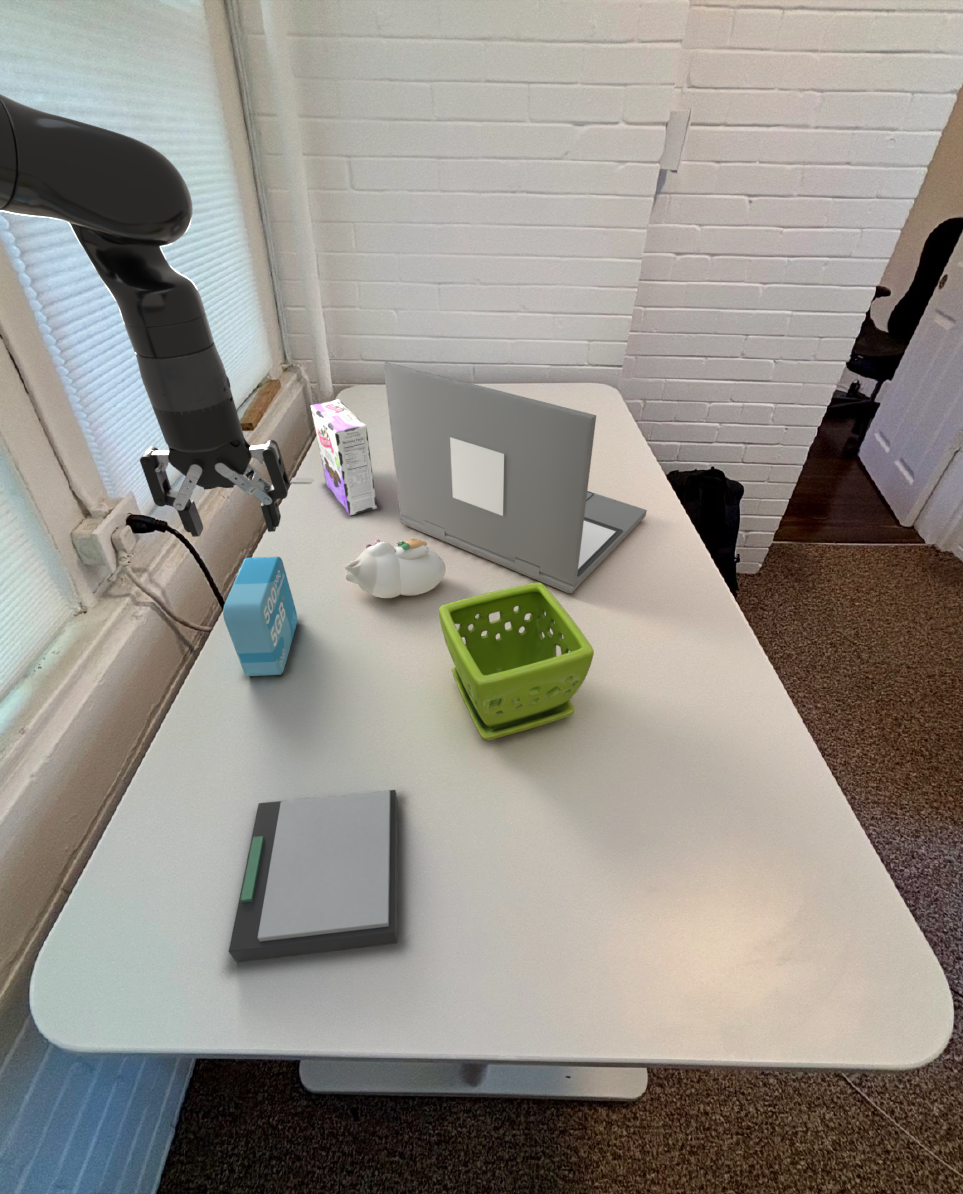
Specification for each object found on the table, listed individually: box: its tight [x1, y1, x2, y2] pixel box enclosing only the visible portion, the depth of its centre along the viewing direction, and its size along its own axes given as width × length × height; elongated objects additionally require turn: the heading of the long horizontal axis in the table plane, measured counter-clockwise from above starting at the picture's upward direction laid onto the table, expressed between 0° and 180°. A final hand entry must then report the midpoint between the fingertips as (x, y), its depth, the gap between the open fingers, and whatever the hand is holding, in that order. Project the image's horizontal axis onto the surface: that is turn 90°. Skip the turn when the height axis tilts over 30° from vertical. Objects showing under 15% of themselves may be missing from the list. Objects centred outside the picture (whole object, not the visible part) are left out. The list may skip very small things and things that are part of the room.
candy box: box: [310, 398, 378, 516], centre depth 108 cm, size 14×6×16 cm, turn 30°
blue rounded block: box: [222, 556, 298, 677], centre depth 78 cm, size 12×4×12 cm, turn 3°
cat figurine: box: [344, 538, 446, 599], centre depth 88 cm, size 10×8×15 cm
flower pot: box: [438, 581, 595, 741], centre depth 70 cm, size 14×14×13 cm
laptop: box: [383, 361, 648, 594], centre depth 96 cm, size 35×26×28 cm
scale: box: [228, 789, 399, 963], centre depth 56 cm, size 14×14×3 cm
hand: (236, 530), depth 69 cm, fingers open, 8 cm apart
